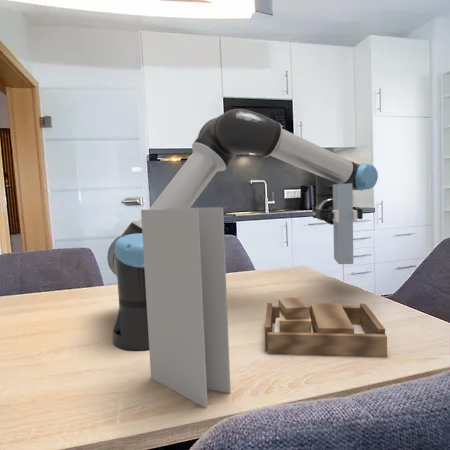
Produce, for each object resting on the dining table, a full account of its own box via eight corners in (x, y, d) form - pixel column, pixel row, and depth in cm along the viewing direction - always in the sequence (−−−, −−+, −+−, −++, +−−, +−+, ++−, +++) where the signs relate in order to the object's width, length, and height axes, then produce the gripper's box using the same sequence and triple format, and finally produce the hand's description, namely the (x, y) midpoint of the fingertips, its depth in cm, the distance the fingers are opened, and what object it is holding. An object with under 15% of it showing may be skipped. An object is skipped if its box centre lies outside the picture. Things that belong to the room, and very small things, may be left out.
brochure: (231, 392, 58) (223, 207, 55) (206, 408, 54) (197, 209, 51) (175, 366, 68) (166, 208, 65) (151, 378, 64) (140, 209, 61)
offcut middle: (279, 334, 75) (279, 320, 75) (280, 319, 84) (279, 307, 84) (311, 335, 74) (311, 321, 74) (308, 320, 83) (308, 307, 83)
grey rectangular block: (338, 264, 90) (337, 184, 88) (334, 258, 97) (332, 184, 96) (353, 264, 89) (352, 183, 87) (347, 258, 97) (346, 184, 95)
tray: (265, 353, 71) (264, 329, 71) (268, 321, 90) (267, 301, 89) (387, 357, 68) (387, 331, 68) (364, 322, 86) (364, 302, 86)
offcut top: (286, 319, 75) (286, 308, 75) (278, 309, 82) (278, 298, 82) (309, 318, 75) (309, 306, 75) (300, 308, 82) (299, 297, 82)
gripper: (360, 222, 109) (382, 231, 86) (305, 224, 111) (311, 232, 88) (360, 198, 108) (382, 199, 85) (304, 200, 111) (311, 202, 88)
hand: (346, 216), depth 87 cm, fingers closed on grey rectangular block, 3 cm apart
